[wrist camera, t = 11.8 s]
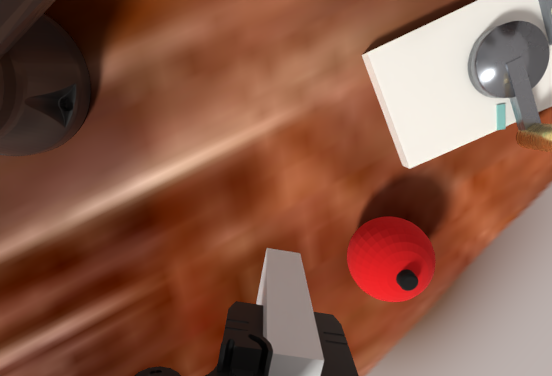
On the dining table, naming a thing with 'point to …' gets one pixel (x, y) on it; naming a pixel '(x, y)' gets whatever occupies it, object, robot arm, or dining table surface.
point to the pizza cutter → (514, 75)
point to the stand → (448, 79)
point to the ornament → (391, 259)
